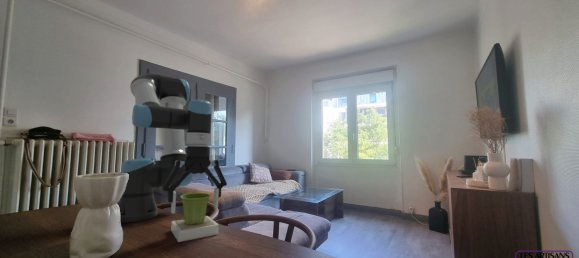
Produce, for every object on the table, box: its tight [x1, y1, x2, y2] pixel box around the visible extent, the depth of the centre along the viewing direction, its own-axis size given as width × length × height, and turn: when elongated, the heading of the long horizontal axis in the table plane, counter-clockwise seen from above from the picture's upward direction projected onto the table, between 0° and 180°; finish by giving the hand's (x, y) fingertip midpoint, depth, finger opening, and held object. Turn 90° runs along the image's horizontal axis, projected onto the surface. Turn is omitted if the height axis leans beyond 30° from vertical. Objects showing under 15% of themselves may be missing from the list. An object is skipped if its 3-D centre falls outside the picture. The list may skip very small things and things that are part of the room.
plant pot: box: [180, 192, 211, 225], centre depth 79 cm, size 9×9×9 cm
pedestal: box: [170, 215, 220, 243], centre depth 79 cm, size 12×12×3 cm
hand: (195, 209), depth 79 cm, fingers open, 13 cm apart
